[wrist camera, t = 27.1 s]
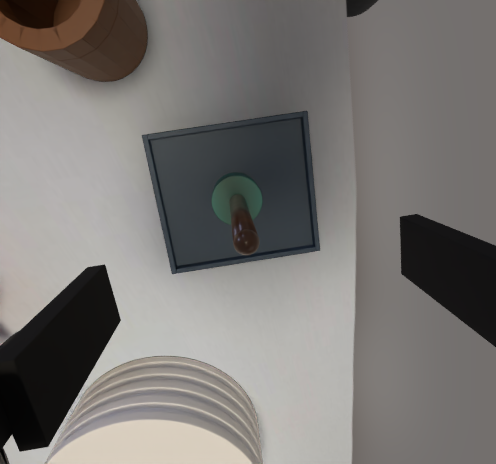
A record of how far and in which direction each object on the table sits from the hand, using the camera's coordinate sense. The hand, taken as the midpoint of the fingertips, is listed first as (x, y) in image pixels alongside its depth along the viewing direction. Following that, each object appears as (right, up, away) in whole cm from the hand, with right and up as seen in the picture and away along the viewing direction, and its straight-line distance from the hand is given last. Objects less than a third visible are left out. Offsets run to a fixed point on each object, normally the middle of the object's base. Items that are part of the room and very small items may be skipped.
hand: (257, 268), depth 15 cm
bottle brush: (-2, +6, +28) cm, 28 cm away
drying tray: (-2, +6, +28) cm, 29 cm away
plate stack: (-13, -29, +37) cm, 49 cm away
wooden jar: (-17, +24, +22) cm, 36 cm away
